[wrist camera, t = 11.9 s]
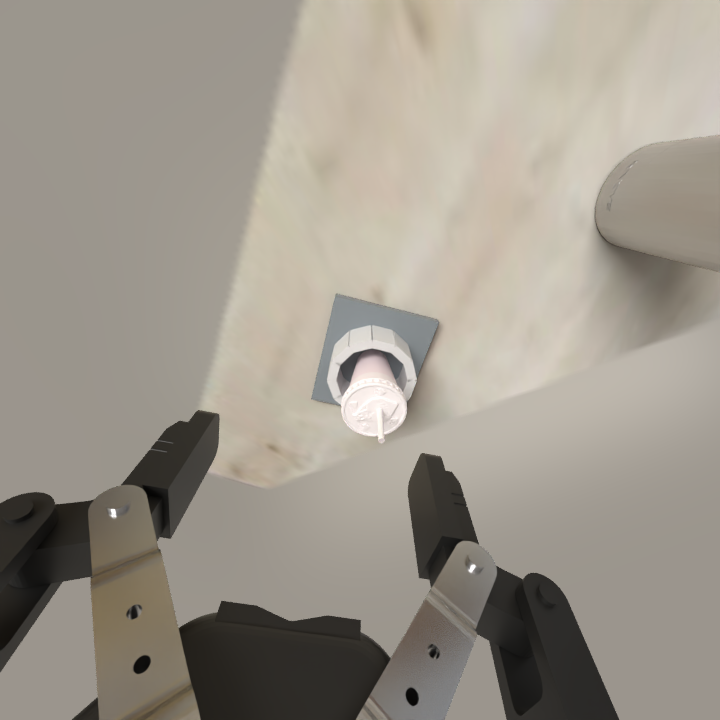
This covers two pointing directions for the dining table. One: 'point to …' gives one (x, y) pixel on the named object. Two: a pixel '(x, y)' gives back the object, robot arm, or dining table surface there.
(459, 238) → the dining table surface
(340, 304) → the holder
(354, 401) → the smoothie
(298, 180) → the dining table surface
